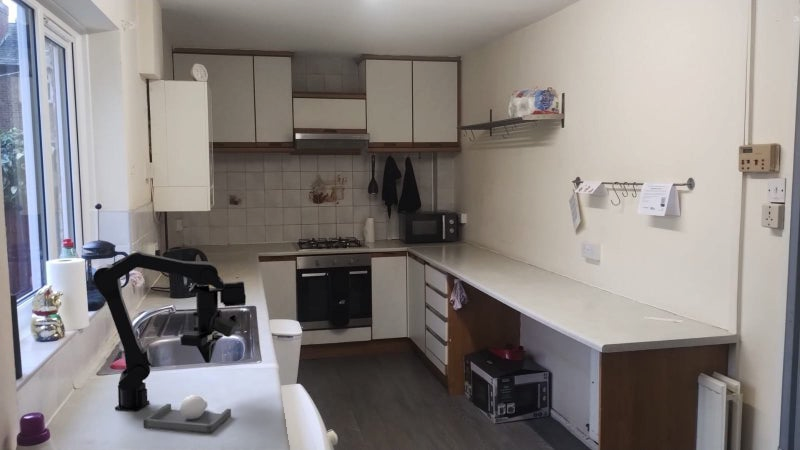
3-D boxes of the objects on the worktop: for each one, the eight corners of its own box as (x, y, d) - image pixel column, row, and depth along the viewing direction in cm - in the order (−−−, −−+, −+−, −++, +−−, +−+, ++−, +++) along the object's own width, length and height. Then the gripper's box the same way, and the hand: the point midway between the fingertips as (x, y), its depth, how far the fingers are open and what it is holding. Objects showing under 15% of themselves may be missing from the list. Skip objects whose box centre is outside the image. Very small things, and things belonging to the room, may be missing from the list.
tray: (143, 427, 155) (143, 420, 155) (167, 410, 166) (167, 403, 165) (210, 433, 152) (210, 426, 151) (230, 416, 162) (230, 408, 162)
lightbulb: (213, 391, 168) (199, 393, 157) (216, 414, 166) (201, 418, 156) (191, 395, 168) (175, 397, 157) (193, 418, 167) (177, 422, 156)
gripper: (217, 317, 162) (218, 375, 163) (249, 302, 180) (249, 355, 182) (178, 314, 164) (179, 372, 166) (213, 300, 183) (214, 352, 184)
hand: (208, 362), depth 174 cm, fingers closed
